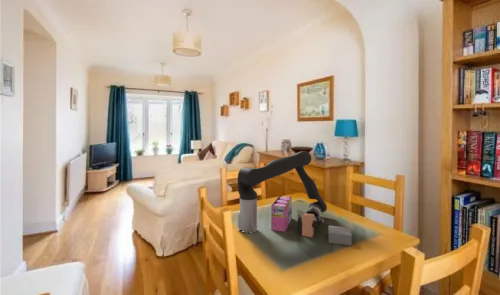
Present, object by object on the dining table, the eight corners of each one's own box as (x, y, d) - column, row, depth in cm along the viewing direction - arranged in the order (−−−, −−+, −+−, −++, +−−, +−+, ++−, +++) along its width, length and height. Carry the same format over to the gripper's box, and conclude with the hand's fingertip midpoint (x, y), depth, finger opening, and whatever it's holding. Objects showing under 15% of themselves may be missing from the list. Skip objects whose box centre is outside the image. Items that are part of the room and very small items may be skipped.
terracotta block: (302, 235, 123) (302, 215, 123) (304, 232, 128) (304, 213, 127) (312, 237, 121) (312, 217, 121) (313, 233, 126) (314, 214, 125)
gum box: (279, 216, 153) (279, 195, 153) (292, 217, 151) (292, 196, 150) (270, 230, 131) (270, 205, 130) (285, 232, 128) (285, 206, 128)
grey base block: (328, 243, 115) (328, 232, 115) (328, 235, 125) (328, 225, 125) (351, 246, 112) (351, 235, 112) (349, 237, 122) (349, 227, 121)
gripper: (300, 206, 140) (292, 215, 125) (326, 209, 134) (322, 219, 119) (300, 219, 140) (292, 229, 125) (326, 223, 135) (321, 234, 119)
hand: (307, 224), depth 122 cm, fingers closed on terracotta block, 5 cm apart
